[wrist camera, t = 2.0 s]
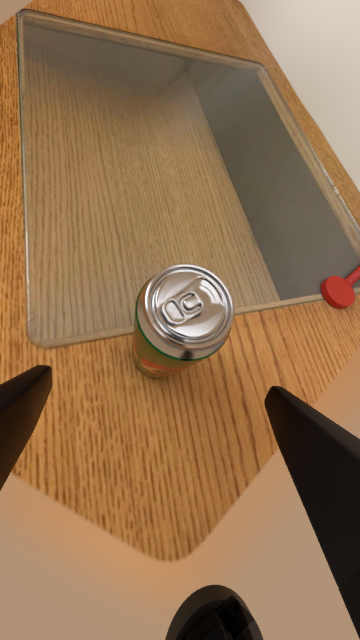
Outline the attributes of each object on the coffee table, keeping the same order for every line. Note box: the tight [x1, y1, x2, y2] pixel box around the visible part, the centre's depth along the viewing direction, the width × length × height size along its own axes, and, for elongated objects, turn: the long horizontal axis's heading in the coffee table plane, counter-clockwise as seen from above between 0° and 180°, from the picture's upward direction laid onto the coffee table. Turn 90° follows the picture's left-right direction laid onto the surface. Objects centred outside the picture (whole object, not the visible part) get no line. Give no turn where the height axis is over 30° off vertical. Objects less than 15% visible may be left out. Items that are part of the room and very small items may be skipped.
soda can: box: [132, 263, 234, 379], centre depth 15 cm, size 5×5×12 cm
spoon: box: [321, 266, 360, 308], centre depth 30 cm, size 14×4×1 cm, turn 127°
